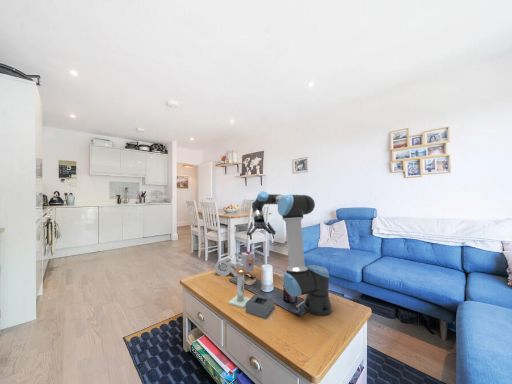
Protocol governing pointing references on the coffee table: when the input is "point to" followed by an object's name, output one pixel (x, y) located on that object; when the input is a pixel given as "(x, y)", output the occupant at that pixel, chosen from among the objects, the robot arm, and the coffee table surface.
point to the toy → (246, 261)
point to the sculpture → (226, 262)
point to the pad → (239, 304)
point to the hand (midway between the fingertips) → (262, 243)
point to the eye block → (260, 306)
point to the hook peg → (240, 284)
